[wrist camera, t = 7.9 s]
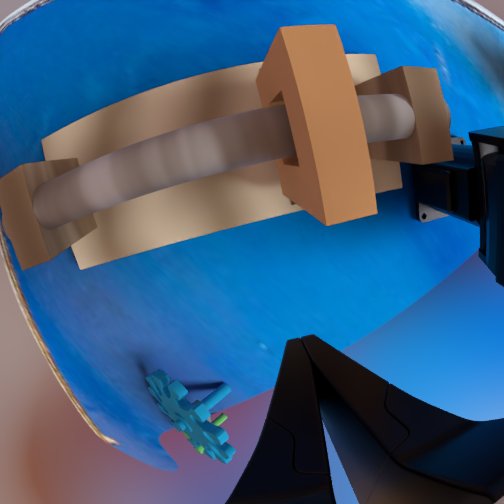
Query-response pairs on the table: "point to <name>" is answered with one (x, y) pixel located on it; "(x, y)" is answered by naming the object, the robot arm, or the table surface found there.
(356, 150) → the collar
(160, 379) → the gear
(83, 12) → the table surface
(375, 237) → the table surface
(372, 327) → the table surface
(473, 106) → the table surface
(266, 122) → the pipe rig
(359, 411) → the robot arm
